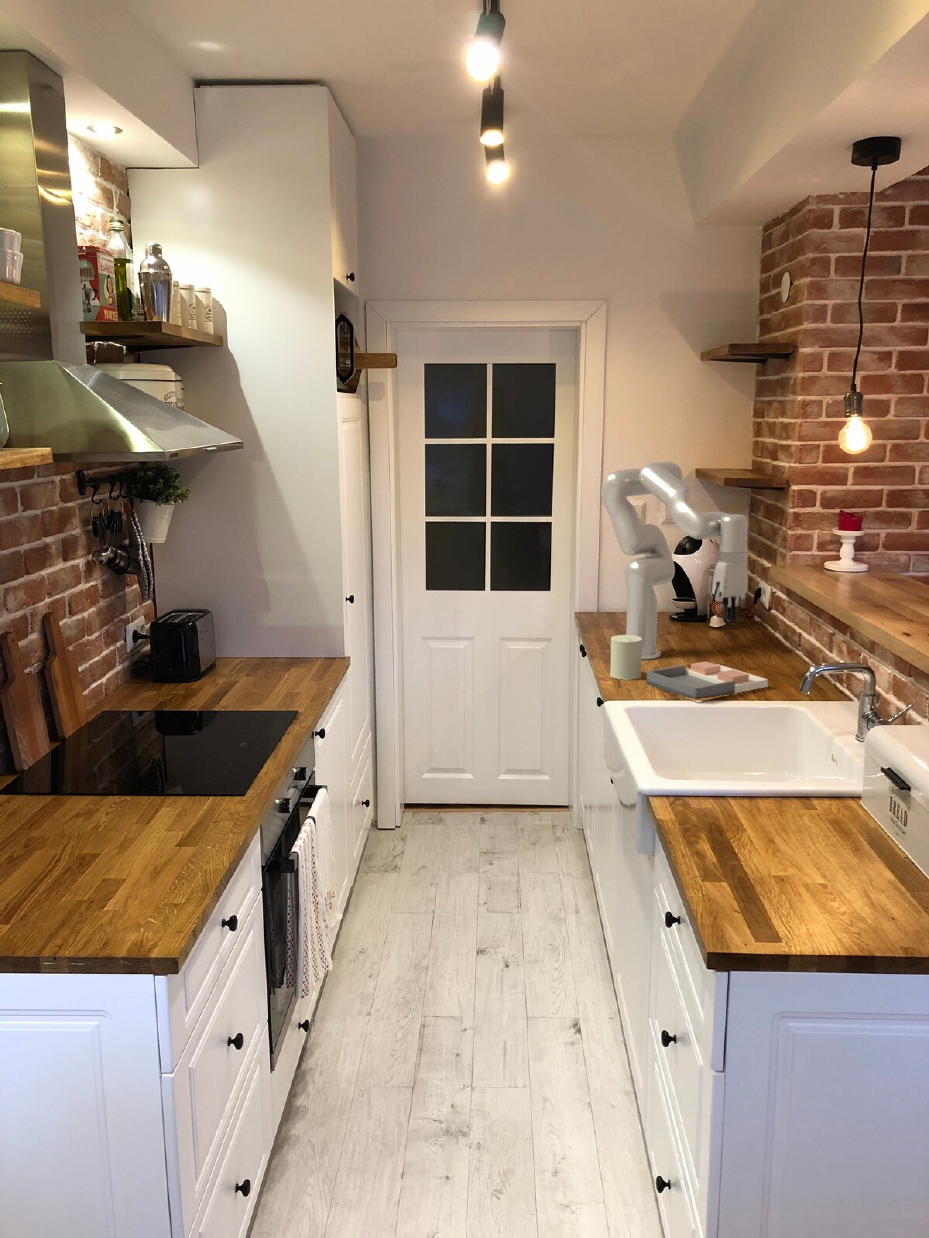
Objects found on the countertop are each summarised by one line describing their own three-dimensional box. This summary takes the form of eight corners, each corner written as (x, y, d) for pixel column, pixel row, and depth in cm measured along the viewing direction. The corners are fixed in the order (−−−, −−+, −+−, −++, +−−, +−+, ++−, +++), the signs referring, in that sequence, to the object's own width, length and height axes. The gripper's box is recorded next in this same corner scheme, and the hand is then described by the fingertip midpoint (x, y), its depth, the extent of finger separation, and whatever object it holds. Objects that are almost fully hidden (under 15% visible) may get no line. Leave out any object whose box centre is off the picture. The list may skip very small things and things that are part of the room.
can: (617, 681, 284) (618, 641, 281) (604, 673, 292) (605, 634, 290) (646, 678, 286) (647, 639, 284) (633, 670, 295) (634, 632, 292)
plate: (684, 678, 286) (684, 669, 286) (716, 672, 293) (717, 664, 292) (733, 694, 269) (734, 686, 269) (767, 687, 276) (767, 679, 275)
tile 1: (690, 670, 285) (690, 664, 284) (705, 667, 288) (706, 661, 287) (704, 675, 280) (705, 668, 279) (720, 672, 283) (720, 665, 282)
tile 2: (717, 679, 276) (717, 672, 275) (732, 676, 278) (733, 669, 278) (732, 684, 270) (733, 677, 270) (748, 681, 273) (748, 674, 273)
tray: (646, 684, 280) (646, 671, 279) (683, 677, 286) (683, 664, 286) (696, 702, 262) (697, 688, 261) (734, 695, 269) (735, 681, 268)
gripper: (741, 553, 288) (738, 614, 292) (703, 558, 281) (700, 620, 284) (760, 557, 281) (757, 619, 285) (722, 561, 274) (719, 624, 278)
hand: (729, 619), depth 285 cm, fingers closed
